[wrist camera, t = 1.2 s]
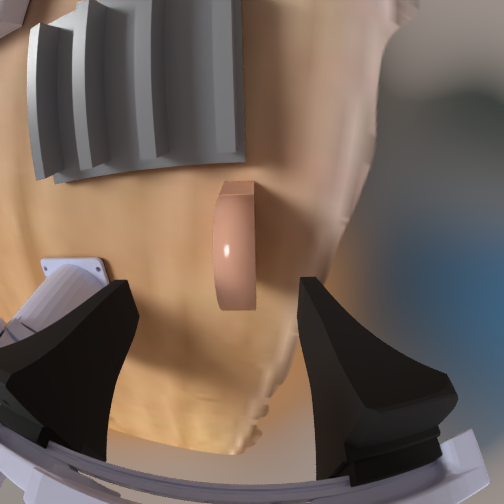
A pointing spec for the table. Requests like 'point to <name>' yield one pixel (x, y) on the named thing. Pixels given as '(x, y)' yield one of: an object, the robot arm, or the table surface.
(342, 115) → the table surface
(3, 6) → the charger
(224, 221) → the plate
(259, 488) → the robot arm
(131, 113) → the dish rack
